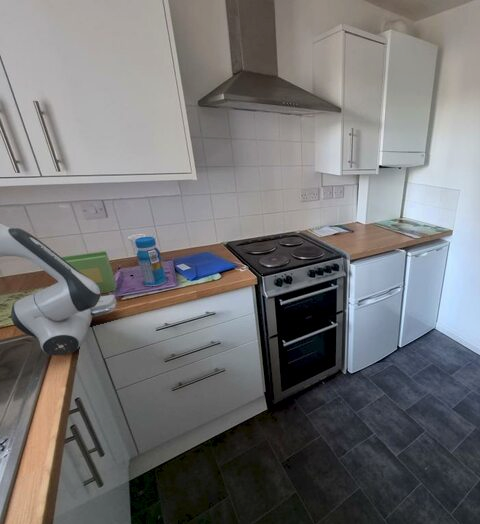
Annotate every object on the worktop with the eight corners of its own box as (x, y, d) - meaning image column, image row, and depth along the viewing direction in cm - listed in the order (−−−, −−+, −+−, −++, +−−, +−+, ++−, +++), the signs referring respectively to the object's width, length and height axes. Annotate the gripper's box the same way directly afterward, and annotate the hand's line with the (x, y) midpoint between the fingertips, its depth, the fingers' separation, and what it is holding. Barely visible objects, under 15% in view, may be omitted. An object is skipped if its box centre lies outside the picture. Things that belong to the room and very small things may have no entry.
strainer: (144, 265, 147) (136, 236, 141) (131, 264, 148) (123, 235, 142) (155, 260, 153) (148, 232, 148) (143, 259, 154) (135, 231, 149)
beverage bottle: (142, 288, 124) (129, 242, 117) (147, 280, 132) (135, 236, 124) (165, 285, 127) (153, 240, 119) (169, 277, 134) (158, 235, 127)
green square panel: (70, 299, 115) (55, 260, 109) (73, 294, 119) (58, 255, 113) (116, 291, 122) (104, 253, 116) (117, 286, 126) (106, 249, 120)
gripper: (112, 301, 96) (116, 284, 107) (23, 319, 86) (38, 298, 97) (117, 317, 98) (121, 300, 109) (32, 337, 88) (45, 315, 99)
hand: (81, 299), depth 103 cm, fingers open, 8 cm apart
